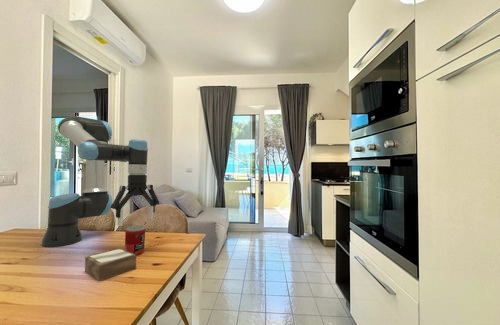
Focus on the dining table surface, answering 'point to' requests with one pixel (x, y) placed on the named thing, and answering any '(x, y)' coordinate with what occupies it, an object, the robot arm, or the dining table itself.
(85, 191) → the robot arm
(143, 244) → the canned food
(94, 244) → the dining table surface
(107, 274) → the base block
